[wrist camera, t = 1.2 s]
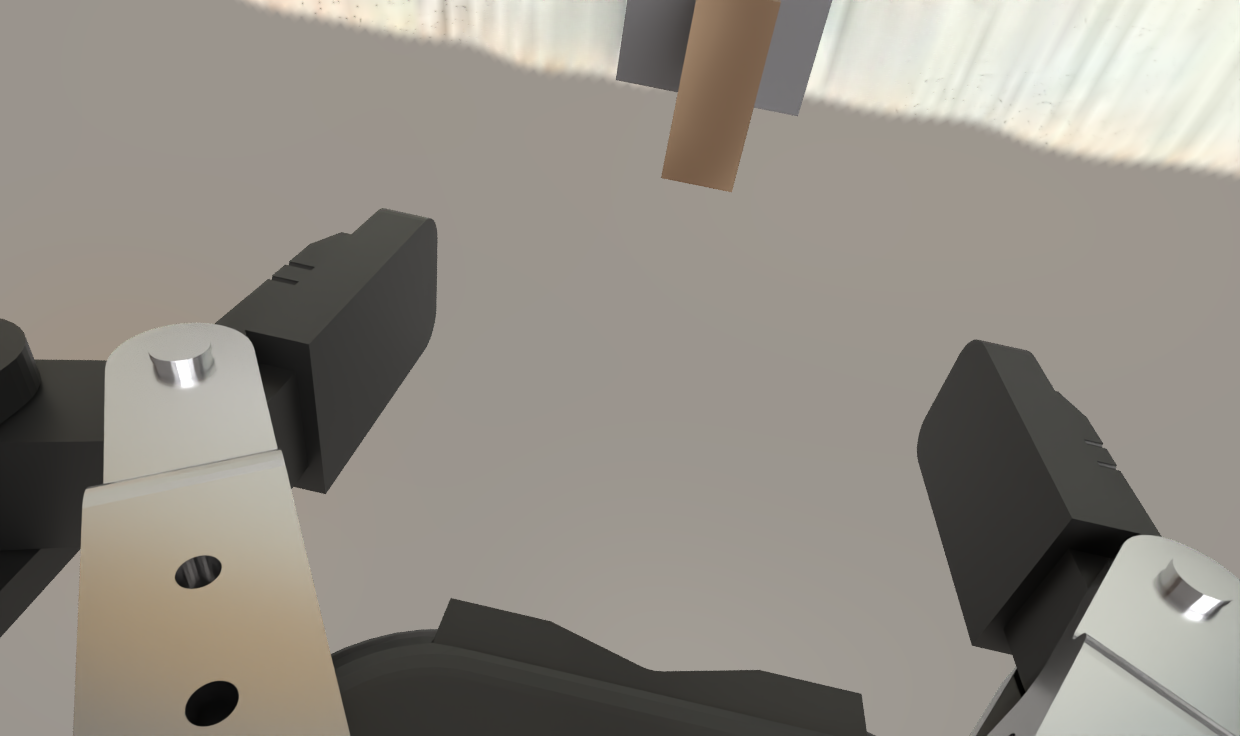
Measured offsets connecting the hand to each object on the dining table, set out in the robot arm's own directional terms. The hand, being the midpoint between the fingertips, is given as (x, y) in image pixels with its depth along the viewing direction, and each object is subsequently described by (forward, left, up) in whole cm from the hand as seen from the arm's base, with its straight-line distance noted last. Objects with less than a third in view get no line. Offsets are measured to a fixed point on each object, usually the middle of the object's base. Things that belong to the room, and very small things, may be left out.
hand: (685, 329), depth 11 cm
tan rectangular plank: (0, 0, -31) cm, 31 cm away
